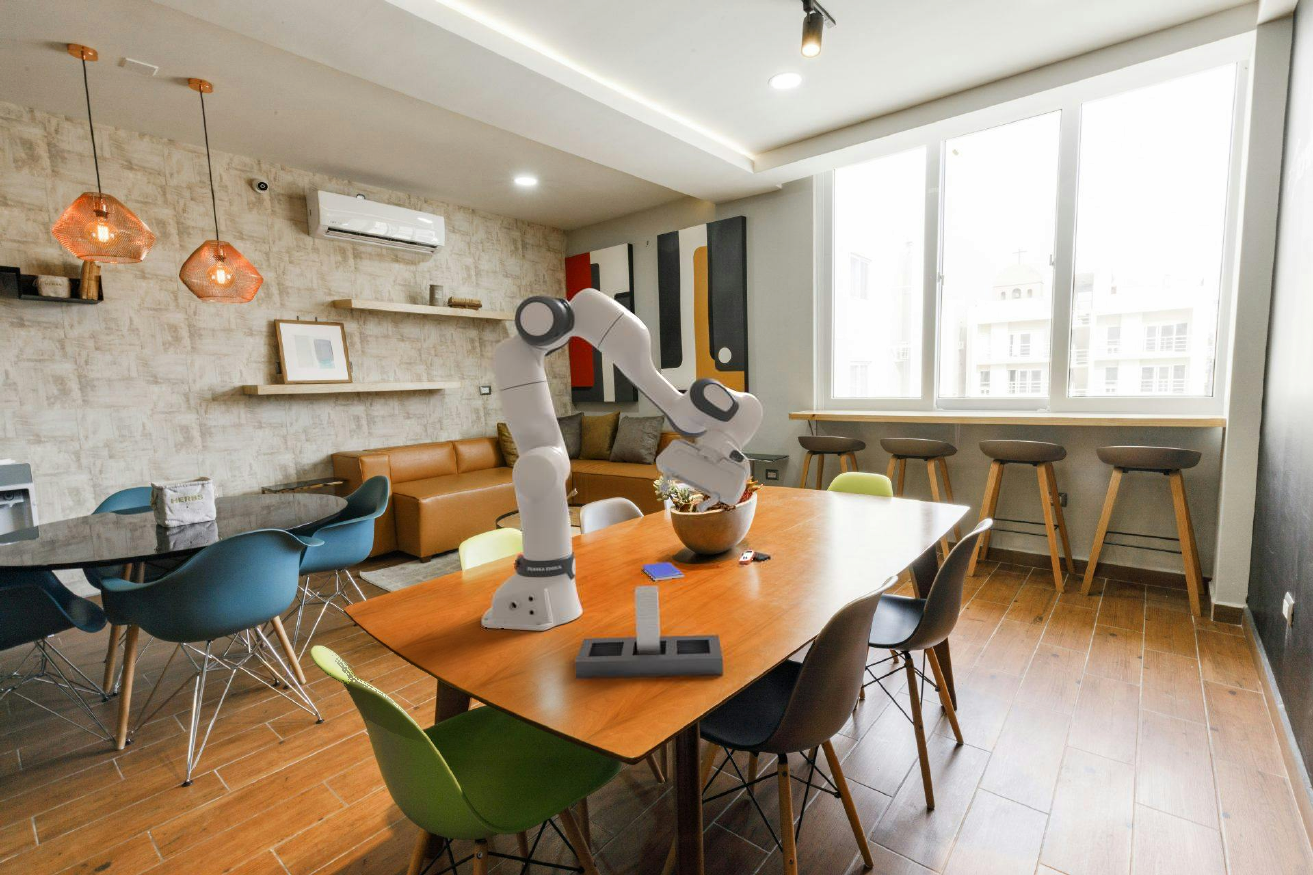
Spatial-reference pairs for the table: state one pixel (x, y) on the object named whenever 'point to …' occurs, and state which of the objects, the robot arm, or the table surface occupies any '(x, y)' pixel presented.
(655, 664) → the dark grey flat frame
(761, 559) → the multimeter
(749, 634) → the table surface
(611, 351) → the robot arm
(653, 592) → the post
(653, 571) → the hard drive
